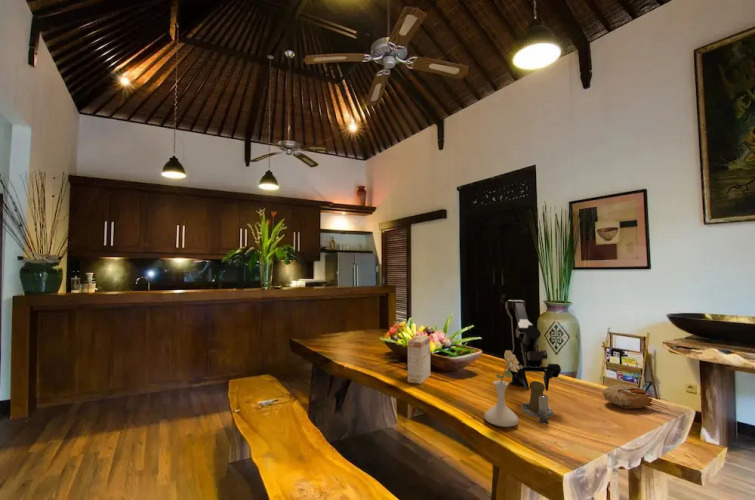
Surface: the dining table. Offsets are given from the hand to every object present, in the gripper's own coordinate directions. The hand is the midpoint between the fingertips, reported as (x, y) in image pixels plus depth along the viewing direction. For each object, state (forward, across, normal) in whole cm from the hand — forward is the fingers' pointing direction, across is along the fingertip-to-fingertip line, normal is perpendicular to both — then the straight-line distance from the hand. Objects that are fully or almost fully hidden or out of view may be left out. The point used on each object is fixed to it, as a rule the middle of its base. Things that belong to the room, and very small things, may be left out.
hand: (537, 390), depth 135 cm
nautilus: (-2, +39, +15) cm, 41 cm away
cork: (+5, 0, +7) cm, 9 cm away
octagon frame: (+7, 0, +5) cm, 9 cm away
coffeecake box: (-18, -46, +30) cm, 58 cm away
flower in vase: (+14, -14, -1) cm, 20 cm away
